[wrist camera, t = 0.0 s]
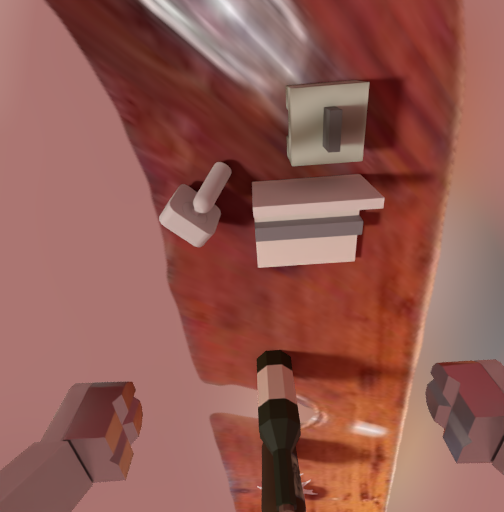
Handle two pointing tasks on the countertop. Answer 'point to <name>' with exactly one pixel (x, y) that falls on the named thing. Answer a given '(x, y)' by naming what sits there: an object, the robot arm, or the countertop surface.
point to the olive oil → (269, 482)
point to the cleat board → (310, 218)
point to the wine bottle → (279, 421)
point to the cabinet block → (326, 122)
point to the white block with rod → (196, 208)
